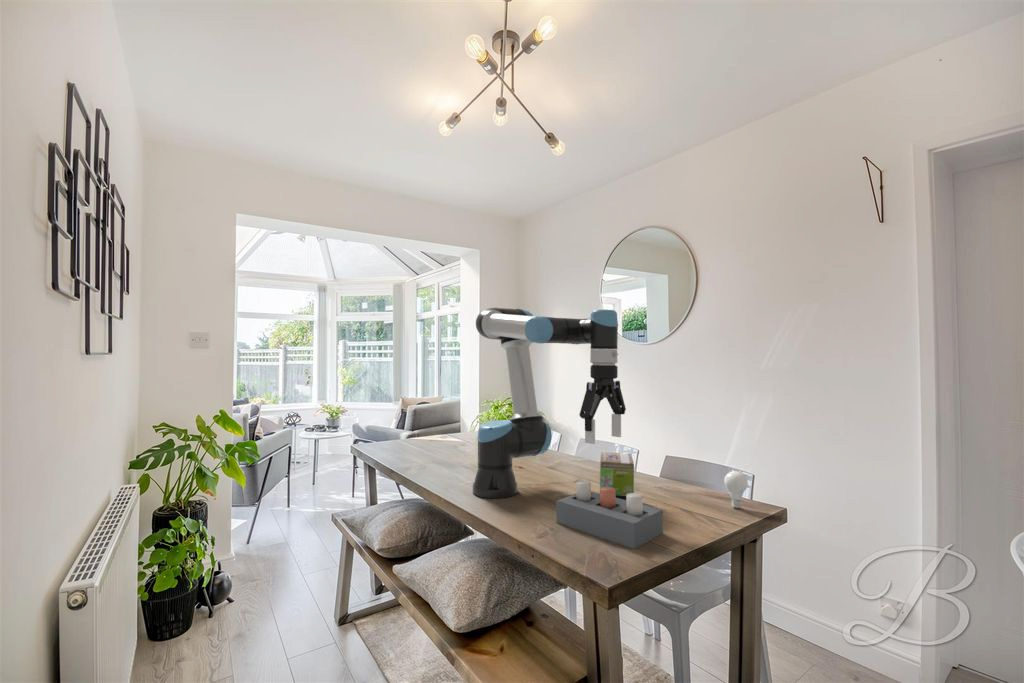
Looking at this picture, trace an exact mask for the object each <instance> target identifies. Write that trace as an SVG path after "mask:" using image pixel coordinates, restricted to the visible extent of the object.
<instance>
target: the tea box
mask: <svg viewBox="0 0 1024 683" xmlns="http://www.w3.org/2000/svg"><path fill="white" fill-rule="evenodd" d="M599 461H600V462H599V463H600V464H599V489H600V488H602V487H612V488H615V495H616V498H619V499H623V500H626V495H627V494H629V493H635V463H634V459H633V455H632V453H626V452H625V453H624V452H621V453H620V452H609V451H608V452H607V451H606V452H605V451H604V452H602V451H601V453H600V460H599Z"/></svg>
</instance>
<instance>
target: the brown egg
mask: <svg viewBox="0 0 1024 683" xmlns="http://www.w3.org/2000/svg"><path fill="white" fill-rule="evenodd" d="M599 493H600V507H604V508H607V509H613V508H615V507H616V495H615V488H612V487H602V488H600V487H599Z"/></svg>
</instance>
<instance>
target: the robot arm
mask: <svg viewBox="0 0 1024 683" xmlns="http://www.w3.org/2000/svg"><path fill="white" fill-rule="evenodd" d="M618 321H619V320H618V313H617V311H616V310H614V309H595V310H592V311H591V312H590V316H589V318H569V317H551V316H541V315H538V316H535V315H533V314H532V313H531V312H530V311H529V310H527V309H521V308H502V307H501V308H500V307H489V308H486V309H483V310H482V311H481V312H479V314H478V315H477V316H476V320H475V327H476V331H477V332H478V333H479V335H480V336H482V337H483V338H486V339H489V340H499V341H500V345H501V348H503V349H504V350H505V352H506V354H505V355H506V359H507V360H506V361H507V369H508V377H509V378H508V379H509V384H510V393H511V401H512V402H511V403H512V411H513V415H512V416H511V417H510V420H508V419H505V420H504V419H501V420H491V421H488V422H484V423H481V425H480V426H479V427H478V429H477V430H478V431H477V471H476V474H475V478H474V481H473V484H472V494H473V495H474V496H477V497H480V498H486V499H502V498H508V497H512V496H515V495H517V493H518V483H517V482H516V477H515V473H514V470H513V459H518V458H526V457H536V456H539V455H543V454H544V453H546V452H547V451H548V450H549V449H550V446H551V443H552V435H553V434H552V429H551V426H550V425H549V423H548V422H547V421H545V420H544V419H543V415H542V414H541V413H540V412H539V411H538V406H537V405H538V404H537V399H536V398H537V397H536V389H535V383H534V375H533V368H532V360H531V354H530V346H531V345H532V344H567V345H569V344H570V345H583V344H584V345H585V344H586V345H587V344H590V360H589V362H590V363H591V365H590V371H589V372H590V378H591V379H593V382H592V381H591V382H589V381H588V382H587V383H586V388H585V389H586V390H585V394H584V397H583V400H582V403H581V407H580V411H579V415H578V416H579V417H580V418H581V419H583V420H584V437H585V438H584V441H585V442H584V443H585V444H591V445H595V444H596V419H594V417H595V415H596V413H597V410H598V408H599V406H600V403H601V401H602V400H603V399H607V403H608V404H609V406H610V407H611V408H610V409H611V410H612V412H613V413H611V437H615V438H622V415H625V414H626V410H627V408H626V405H625V402H624V397H623V393H622V389H621V382H620V381H621V380H615V379H617V378H618V374H619V373H618V366H617V365H616V364H617V363H618V356H619V353H618V334H619V333H618V330H619V329H618V328H619V324H618V323H619V322H618Z"/></svg>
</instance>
